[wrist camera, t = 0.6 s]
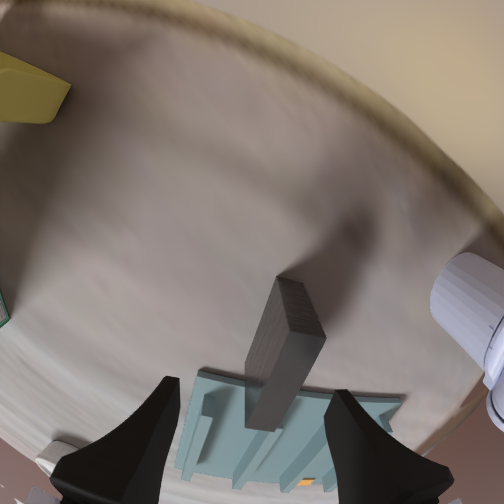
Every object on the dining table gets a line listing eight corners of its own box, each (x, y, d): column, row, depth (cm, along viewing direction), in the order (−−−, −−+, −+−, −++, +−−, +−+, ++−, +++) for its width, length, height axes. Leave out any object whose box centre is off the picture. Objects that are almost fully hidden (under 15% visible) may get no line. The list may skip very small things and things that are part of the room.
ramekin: (36, 436, 29) (24, 457, 24) (69, 433, 27) (55, 459, 22) (83, 474, 32) (74, 495, 27) (121, 475, 30) (114, 501, 25)
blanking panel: (302, 282, 20) (326, 338, 14) (268, 367, 23) (274, 432, 16) (276, 275, 20) (289, 330, 13) (244, 362, 22) (244, 428, 16)
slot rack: (399, 398, 25) (410, 419, 21) (326, 479, 30) (330, 496, 27) (198, 370, 22) (192, 397, 19) (175, 463, 28) (171, 483, 24)
